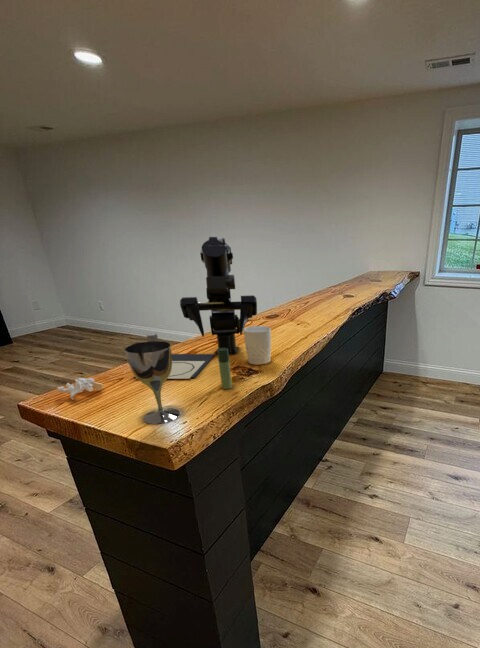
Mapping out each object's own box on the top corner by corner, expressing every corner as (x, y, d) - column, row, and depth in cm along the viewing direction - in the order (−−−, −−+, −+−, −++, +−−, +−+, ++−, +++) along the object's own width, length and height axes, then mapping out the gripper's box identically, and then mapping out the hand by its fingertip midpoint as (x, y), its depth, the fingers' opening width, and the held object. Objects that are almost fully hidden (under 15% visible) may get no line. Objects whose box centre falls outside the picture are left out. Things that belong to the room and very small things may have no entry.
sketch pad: (164, 354, 110) (164, 353, 110) (215, 355, 110) (214, 353, 110) (131, 379, 91) (131, 378, 91) (193, 379, 91) (193, 378, 91)
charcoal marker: (158, 367, 99) (151, 332, 95) (165, 368, 98) (158, 333, 94) (151, 369, 97) (144, 334, 93) (158, 371, 96) (151, 335, 92)
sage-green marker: (223, 385, 88) (218, 347, 84) (233, 385, 88) (229, 347, 84) (220, 389, 86) (215, 350, 82) (230, 389, 86) (226, 350, 82)
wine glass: (131, 420, 71) (114, 350, 65) (161, 404, 77) (148, 339, 72) (162, 428, 68) (148, 355, 62) (190, 410, 75) (179, 343, 69)
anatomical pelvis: (87, 371, 86) (103, 373, 83) (92, 387, 87) (108, 390, 84) (51, 382, 79) (68, 385, 76) (57, 399, 80) (74, 402, 78)
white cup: (267, 366, 101) (265, 333, 97) (241, 364, 102) (238, 331, 98) (275, 358, 108) (274, 326, 104) (252, 356, 110) (249, 325, 106)
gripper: (174, 263, 83) (175, 318, 78) (253, 262, 88) (259, 315, 82) (183, 292, 94) (185, 343, 88) (254, 290, 98) (259, 338, 92)
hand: (222, 334), depth 87 cm, fingers open, 9 cm apart
